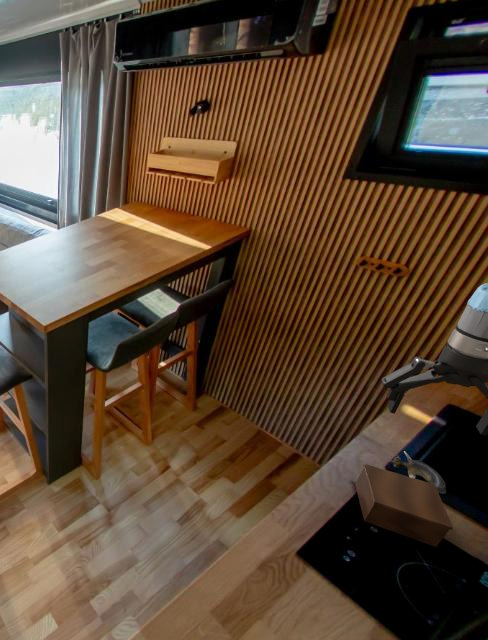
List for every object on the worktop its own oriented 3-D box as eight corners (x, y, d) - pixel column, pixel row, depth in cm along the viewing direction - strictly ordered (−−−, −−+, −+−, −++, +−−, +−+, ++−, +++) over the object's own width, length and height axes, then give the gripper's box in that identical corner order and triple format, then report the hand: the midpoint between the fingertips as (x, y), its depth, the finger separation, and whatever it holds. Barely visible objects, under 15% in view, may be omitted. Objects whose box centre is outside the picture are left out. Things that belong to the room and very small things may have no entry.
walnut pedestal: (421, 504, 88) (434, 484, 85) (438, 548, 80) (453, 528, 77) (353, 483, 95) (363, 463, 91) (363, 521, 87) (374, 501, 84)
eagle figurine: (385, 474, 94) (442, 497, 86) (393, 448, 94) (450, 469, 86) (393, 473, 98) (448, 494, 90) (400, 448, 98) (456, 468, 90)
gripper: (391, 345, 82) (360, 411, 91) (593, 378, 67) (532, 454, 76) (384, 328, 87) (355, 392, 96) (570, 355, 72) (515, 429, 81)
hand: (433, 419), depth 86 cm, fingers open, 13 cm apart
